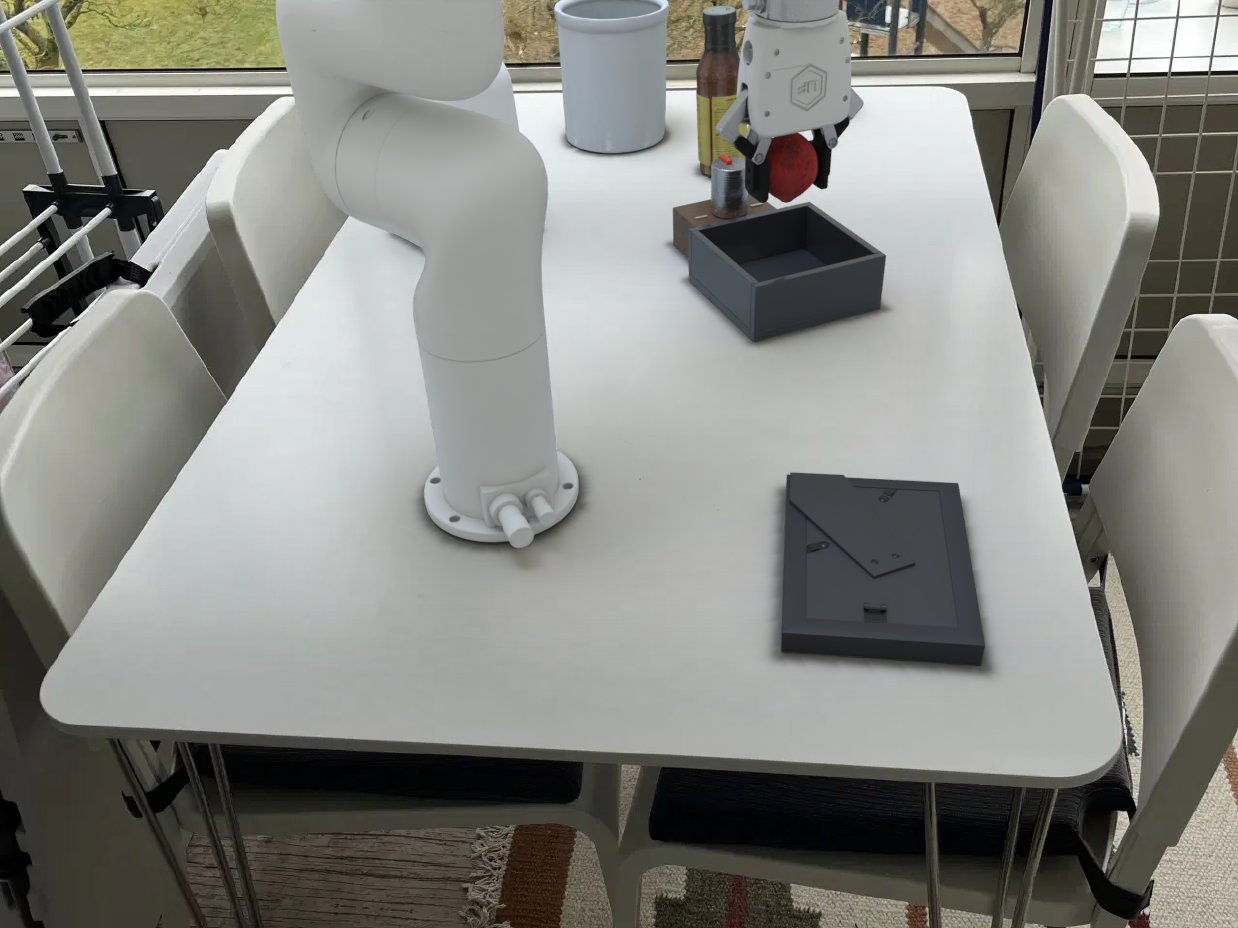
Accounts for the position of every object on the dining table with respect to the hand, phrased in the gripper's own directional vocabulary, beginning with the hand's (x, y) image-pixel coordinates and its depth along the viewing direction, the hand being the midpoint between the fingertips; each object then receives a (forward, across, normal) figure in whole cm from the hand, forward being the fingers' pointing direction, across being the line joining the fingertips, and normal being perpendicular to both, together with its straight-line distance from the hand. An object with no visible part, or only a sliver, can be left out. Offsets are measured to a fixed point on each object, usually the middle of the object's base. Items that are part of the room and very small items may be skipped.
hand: (787, 189), depth 112 cm
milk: (+12, -25, +30) cm, 41 cm away
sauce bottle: (+12, +10, +32) cm, 36 cm away
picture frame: (+12, -15, -40) cm, 45 cm away
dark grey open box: (+12, 0, 0) cm, 12 cm away
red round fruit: (+2, 0, 0) cm, 2 cm away
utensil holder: (+12, +3, +50) cm, 52 cm away
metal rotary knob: (+7, 0, +12) cm, 14 cm away
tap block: (+12, 0, +12) cm, 17 cm away
